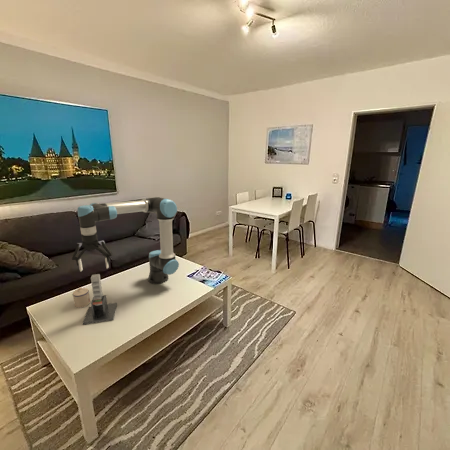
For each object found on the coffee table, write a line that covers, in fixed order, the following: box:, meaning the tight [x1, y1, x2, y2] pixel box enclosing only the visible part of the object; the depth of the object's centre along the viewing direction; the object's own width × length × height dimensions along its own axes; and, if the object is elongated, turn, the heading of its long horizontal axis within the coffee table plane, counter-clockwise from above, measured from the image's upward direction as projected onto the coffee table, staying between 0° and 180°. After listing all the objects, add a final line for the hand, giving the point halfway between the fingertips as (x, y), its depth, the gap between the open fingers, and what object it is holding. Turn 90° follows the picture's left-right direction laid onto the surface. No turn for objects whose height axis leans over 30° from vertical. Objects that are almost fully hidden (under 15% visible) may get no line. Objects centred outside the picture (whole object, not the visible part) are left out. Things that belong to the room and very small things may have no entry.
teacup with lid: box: [72, 287, 91, 309], centre depth 159 cm, size 12×9×12 cm
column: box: [90, 273, 103, 306], centre depth 145 cm, size 5×4×18 cm
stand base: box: [82, 294, 118, 326], centre depth 149 cm, size 16×16×10 cm
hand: (94, 269), depth 142 cm, fingers open, 13 cm apart
